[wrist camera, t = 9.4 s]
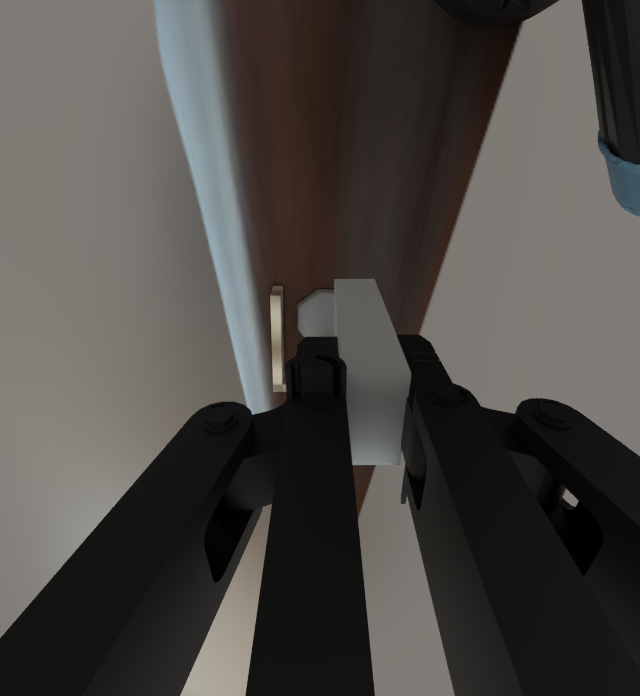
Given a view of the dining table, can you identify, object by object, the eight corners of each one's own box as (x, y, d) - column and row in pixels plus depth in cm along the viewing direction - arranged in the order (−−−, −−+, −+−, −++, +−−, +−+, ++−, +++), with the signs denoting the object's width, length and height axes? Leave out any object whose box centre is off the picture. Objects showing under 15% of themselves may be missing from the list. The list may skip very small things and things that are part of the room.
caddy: (273, 285, 39) (270, 295, 37) (376, 288, 40) (380, 298, 37) (275, 377, 45) (273, 391, 42) (366, 379, 45) (369, 393, 42)
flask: (366, 337, 42) (380, 386, 34) (305, 353, 43) (303, 405, 34) (351, 278, 39) (362, 316, 30) (286, 297, 40) (278, 338, 31)
